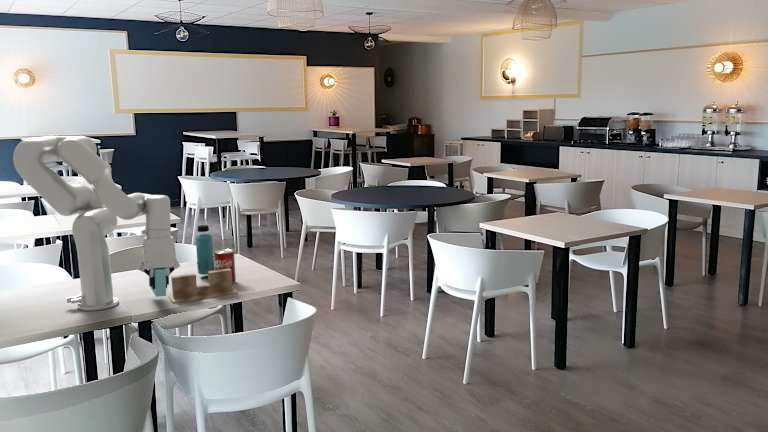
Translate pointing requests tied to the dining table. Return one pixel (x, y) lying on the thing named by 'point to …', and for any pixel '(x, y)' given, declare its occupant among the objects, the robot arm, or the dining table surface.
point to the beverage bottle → (204, 251)
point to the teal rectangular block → (159, 282)
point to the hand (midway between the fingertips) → (159, 287)
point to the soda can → (225, 261)
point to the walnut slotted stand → (201, 286)
